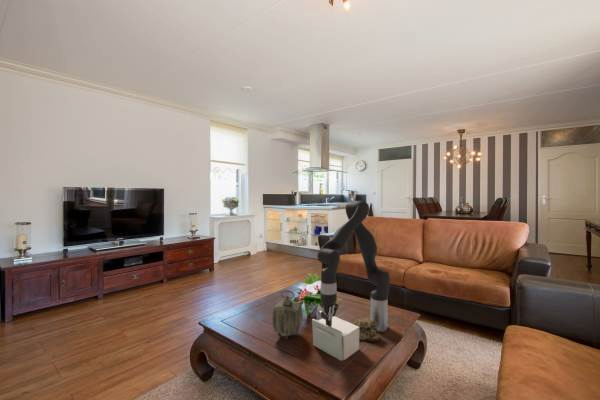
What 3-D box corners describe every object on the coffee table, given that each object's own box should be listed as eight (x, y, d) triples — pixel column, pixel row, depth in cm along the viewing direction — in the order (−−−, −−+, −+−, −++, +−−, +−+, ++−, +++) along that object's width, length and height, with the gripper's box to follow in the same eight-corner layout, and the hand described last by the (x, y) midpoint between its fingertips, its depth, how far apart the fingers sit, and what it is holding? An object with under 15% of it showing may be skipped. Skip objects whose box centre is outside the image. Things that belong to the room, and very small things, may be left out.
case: (330, 336, 146) (330, 314, 145) (359, 351, 133) (359, 326, 132) (314, 345, 137) (314, 322, 137) (344, 362, 124) (344, 336, 124)
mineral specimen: (350, 343, 139) (350, 324, 139) (349, 330, 152) (349, 313, 152) (380, 345, 138) (380, 326, 137) (375, 332, 150) (376, 314, 150)
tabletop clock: (302, 335, 147) (302, 289, 146) (298, 344, 138) (298, 295, 137) (276, 331, 151) (276, 286, 149) (271, 340, 142) (271, 292, 141)
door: (314, 344, 137) (313, 318, 135) (342, 359, 124) (341, 331, 123) (311, 346, 135) (310, 320, 134) (339, 362, 123) (338, 334, 121)
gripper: (331, 285, 137) (331, 319, 138) (313, 292, 127) (313, 329, 128) (343, 289, 131) (343, 324, 132) (325, 297, 122) (325, 335, 123)
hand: (328, 326), depth 130 cm, fingers closed
